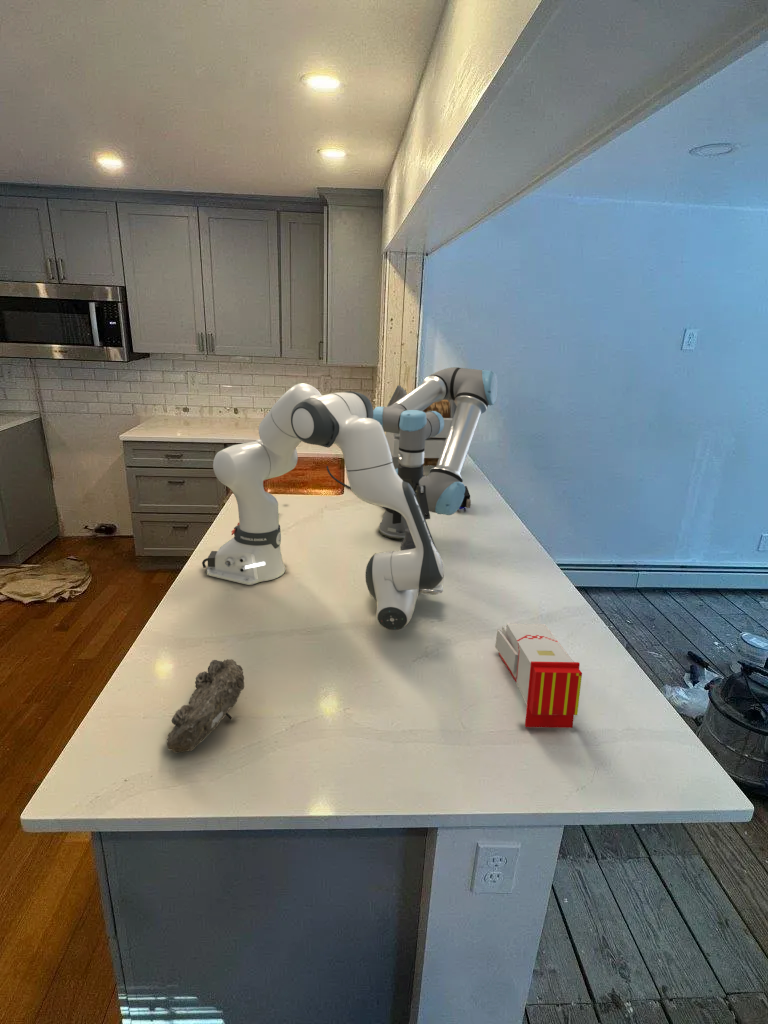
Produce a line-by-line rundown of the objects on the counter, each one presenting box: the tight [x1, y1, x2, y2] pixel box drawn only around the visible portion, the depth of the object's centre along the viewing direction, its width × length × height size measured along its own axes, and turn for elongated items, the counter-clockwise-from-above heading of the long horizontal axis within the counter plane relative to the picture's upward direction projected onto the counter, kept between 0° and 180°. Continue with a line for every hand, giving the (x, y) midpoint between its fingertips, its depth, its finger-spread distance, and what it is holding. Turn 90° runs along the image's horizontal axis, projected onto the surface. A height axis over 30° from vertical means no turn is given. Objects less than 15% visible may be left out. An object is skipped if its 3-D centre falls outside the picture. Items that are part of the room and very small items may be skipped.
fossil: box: [166, 658, 245, 754], centre depth 106 cm, size 22×10×15 cm
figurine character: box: [456, 485, 472, 513], centre depth 228 cm, size 7×8×15 cm
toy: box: [494, 623, 583, 729], centre depth 120 cm, size 12×13×30 cm
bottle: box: [399, 528, 416, 551], centre depth 158 cm, size 5×5×18 cm
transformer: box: [385, 384, 462, 475], centre depth 268 cm, size 34×33×41 cm
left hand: (409, 566), depth 159 cm, fingers closed on bottle, 5 cm apart
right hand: (407, 530), depth 174 cm, fingers open, 13 cm apart
